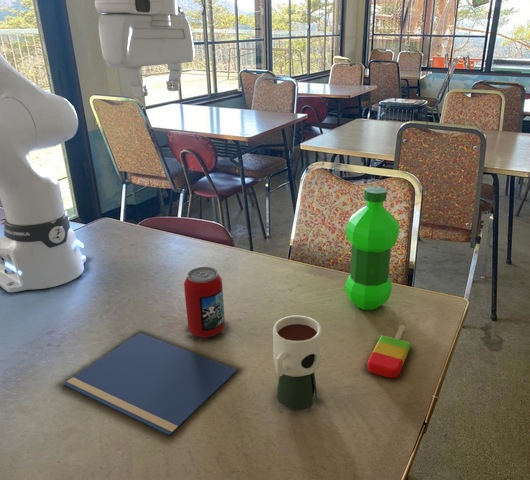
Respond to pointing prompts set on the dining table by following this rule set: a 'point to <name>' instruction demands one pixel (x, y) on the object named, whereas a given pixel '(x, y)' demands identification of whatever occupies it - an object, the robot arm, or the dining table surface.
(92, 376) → the blue book
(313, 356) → the character mug
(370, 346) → the dining table surface
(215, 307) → the beverage can
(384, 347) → the popsicle
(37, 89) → the robot arm
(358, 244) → the plastic bottle
